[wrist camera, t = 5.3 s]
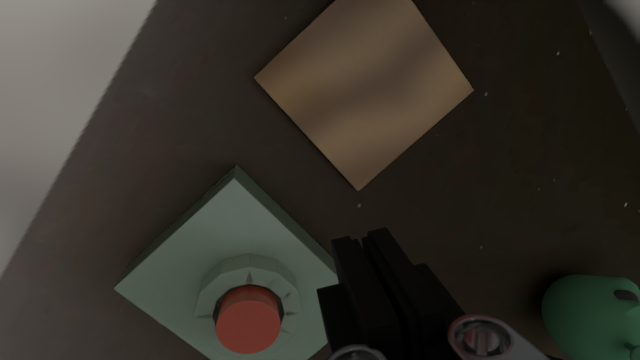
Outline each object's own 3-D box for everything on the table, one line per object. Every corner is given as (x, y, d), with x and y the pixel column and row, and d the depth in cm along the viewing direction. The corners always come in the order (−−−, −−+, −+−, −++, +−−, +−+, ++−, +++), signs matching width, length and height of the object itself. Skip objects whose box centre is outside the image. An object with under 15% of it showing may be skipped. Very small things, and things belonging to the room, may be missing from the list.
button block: (127, 264, 29) (102, 305, 24) (236, 164, 28) (232, 187, 23) (261, 366, 34) (262, 417, 29) (360, 283, 33) (377, 323, 28)
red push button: (205, 312, 26) (201, 330, 24) (249, 273, 26) (249, 288, 24) (248, 346, 27) (247, 365, 26) (291, 309, 27) (293, 326, 25)
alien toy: (613, 280, 37) (736, 360, 27) (549, 337, 38) (647, 433, 28) (573, 236, 34) (692, 306, 25) (507, 297, 35) (597, 387, 26)
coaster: (253, 77, 26) (253, 77, 26) (379, -42, 25) (381, -44, 25) (356, 189, 30) (358, 191, 30) (470, 89, 29) (474, 90, 28)
